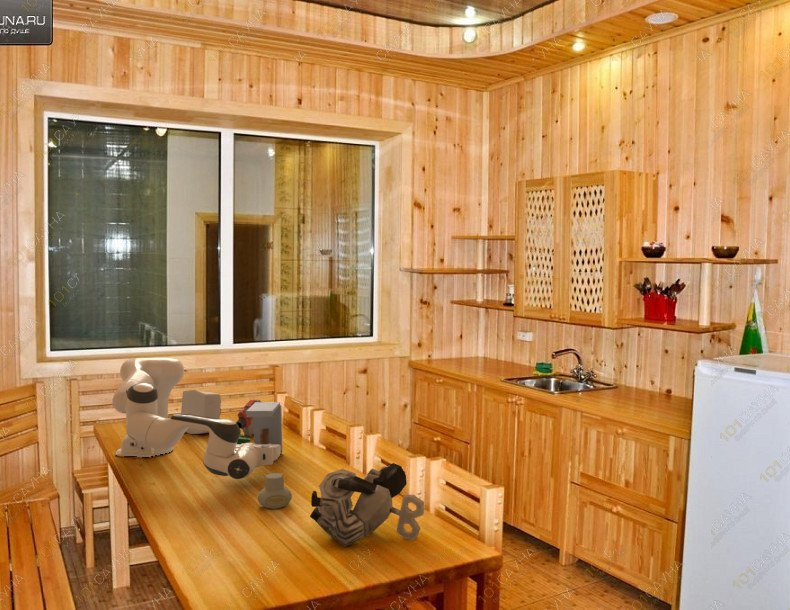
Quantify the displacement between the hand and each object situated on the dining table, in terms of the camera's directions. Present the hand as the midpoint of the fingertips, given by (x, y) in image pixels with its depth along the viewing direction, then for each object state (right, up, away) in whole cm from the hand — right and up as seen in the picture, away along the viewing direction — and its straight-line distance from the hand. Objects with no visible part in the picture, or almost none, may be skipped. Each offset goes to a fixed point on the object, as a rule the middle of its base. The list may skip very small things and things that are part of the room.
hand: (256, 445), depth 276 cm
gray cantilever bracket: (0, -8, +15) cm, 17 cm away
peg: (0, -8, +15) cm, 17 cm away
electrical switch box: (-36, -5, +64) cm, 74 cm away
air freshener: (+13, -12, -38) cm, 42 cm away
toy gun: (-13, -6, +54) cm, 56 cm away
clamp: (-13, -8, +32) cm, 35 cm away
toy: (+44, -14, -63) cm, 78 cm away
